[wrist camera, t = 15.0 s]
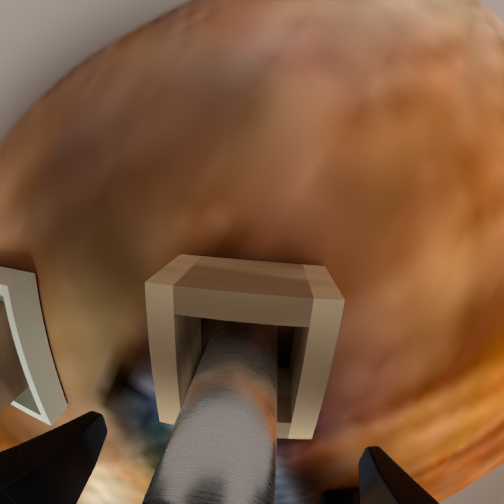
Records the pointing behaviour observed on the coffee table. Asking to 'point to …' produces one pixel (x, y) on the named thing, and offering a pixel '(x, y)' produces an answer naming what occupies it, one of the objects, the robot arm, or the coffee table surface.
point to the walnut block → (9, 364)
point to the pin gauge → (225, 424)
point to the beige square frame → (249, 311)
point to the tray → (31, 346)
